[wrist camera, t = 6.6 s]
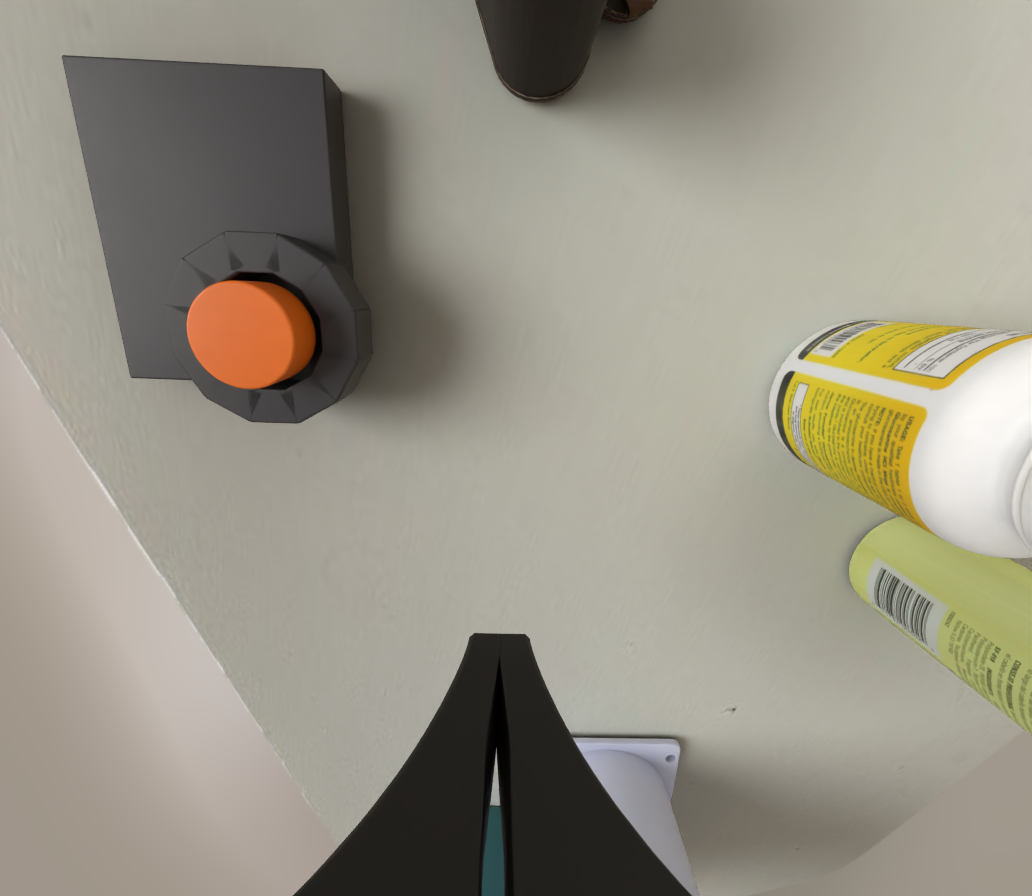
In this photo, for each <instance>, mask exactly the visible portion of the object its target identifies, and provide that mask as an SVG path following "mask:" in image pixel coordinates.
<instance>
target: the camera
mask: <svg viewBox="0 0 1032 896" xmlns="http://www.w3.org/2000/svg"><path fill="white" fill-rule="evenodd" d="M475 1H476V5H477V8H478V12H479V15H480V19H481V22H482V26H483V29H484V33H485V36H486V39H487V43H488V46H489V50H490V53H491V57H492V60H493V64H494V67H495V70H496V72H497V75H498V77H499V79H500V80H501V82H502V84H503V85H504V86H505V87H506V88H507V89H508V90H509V91H510V92H511V93H512V94H514V95H515V96H517V97H518V98H521V99H523V100H526V101H530V102H546V101H550V100H554V99H556V98H558V97H560V96H562V95H564V94H565V93H566V92H567V91H569V90H570V89H571V88H572V87H573V86H574V85H575V84H576V83H577V81H578V80H579V78H580V77H581V75H582V74H583V72H584V69H585V67H586V64H587V62H588V59H589V55H590V51H591V46H592V43H593V40H594V37H595V34H596V32H597V29H598V26H599V23H600V20H601V17H602V16H604V17H605V18H606V19H608V20H610V21H612V22H616V23H627V22H631V21H634V20H636V19H638V18H639V17H641V16H642V15H643V14H645V13H646V12H647V11H648V10H650V9H652V8H653V5H654V4H655V3H656V2H657V0H475Z"/></svg>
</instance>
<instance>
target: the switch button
mask: <svg viewBox="0 0 1032 896" xmlns="http://www.w3.org/2000/svg"><path fill="white" fill-rule="evenodd" d="M187 336H188V340H189V343H190V346H191V349H192V351H193V353H194V355H195V356H196V358H197V359H198V361H199V362H200V364H201V365H202V366H203V367H204V368H205V369H206V370H207V371H208V372H209V373H210V374H211V375H213V376H214V377H215V378H217V379H218V380H220V381H222V382H224V383H226V384H228V385H231V386H234V387H237V388H242V389H259V388H264V387H267V386H270V385H273V384H275V383H278V382H280V381H283V380H285V379H288V378H290V377H292V376H295V375H296V374H298V373H299V372H301V371H302V370H303V369H304V368H305V367H306V366H307V365H308V363H309V362H310V360H311V358H312V356H313V353H314V350H315V344H316V333H315V327H314V323H313V320H312V318H311V316H310V314H309V312H308V310H307V309H306V307H305V306H304V304H303V303H302V302H301V301H300V300H299V299H298V298H297V297H296V296H295V295H294V294H293V293H291V292H290V291H288V290H287V289H285V288H283V287H281V286H278V285H276V284H273V283H269V282H260V281H237V280H231V281H222V282H218V283H215V284H212V285H210V286H209V287H207V288H205V289H204V290H203V291H202V292H201V293H200V294H199V295H198V296H197V297H196V298H195V300H194V301H193V303H192V305H191V307H190V309H189V312H188V316H187Z"/></svg>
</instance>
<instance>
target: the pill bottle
mask: <svg viewBox="0 0 1032 896" xmlns="http://www.w3.org/2000/svg"><path fill="white" fill-rule="evenodd" d="M769 417H770V422H771V425H772V428H773V431H774V433H775V435H776V437H777V439H778V440H779V442H780V443H781V444H782V446H783V447H784V448H785V449H786V450H787V451H788V452H789V453H790V454H792V455H793V456H794V457H796V458H797V459H799V460H800V461H802V462H803V463H805V464H807V465H809V466H810V467H812V468H814V469H816V470H817V471H819V472H821V473H823V474H825V475H826V476H828V477H830V478H832V479H834V480H836V481H837V482H839V483H841V484H843V485H844V486H846V487H848V488H850V489H852V490H854V491H855V492H857V493H859V494H861V495H863V496H865V497H866V498H868V499H870V500H872V501H874V502H876V503H877V504H879V505H881V506H883V507H885V508H886V509H888V510H890V511H892V512H894V513H895V514H897V515H899V516H901V517H903V518H904V519H906V520H908V521H910V522H911V523H913V524H915V525H917V526H919V527H921V528H922V529H924V530H926V531H928V532H929V533H931V534H933V535H935V536H937V537H939V538H941V539H942V540H944V541H946V542H948V543H950V544H953V545H955V546H957V547H960V548H962V549H964V550H967V551H970V552H973V553H977V554H981V555H985V556H991V557H998V558H1032V332H1029V331H1013V330H998V329H984V328H970V327H955V326H941V325H928V324H914V323H900V322H887V321H866V320H860V321H848V322H843V323H838V324H835V325H832V326H829V327H827V328H825V329H822V330H820V331H818V332H817V333H815V334H813V335H812V336H810V337H809V338H807V339H806V340H804V341H803V342H802V343H801V344H800V345H798V346H797V347H796V348H795V349H794V350H793V351H792V352H791V354H790V355H789V356H788V357H787V358H786V360H785V361H784V362H783V364H782V366H781V367H780V369H779V371H778V373H777V375H776V377H775V379H774V382H773V384H772V388H771V391H770V396H769Z"/></svg>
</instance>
